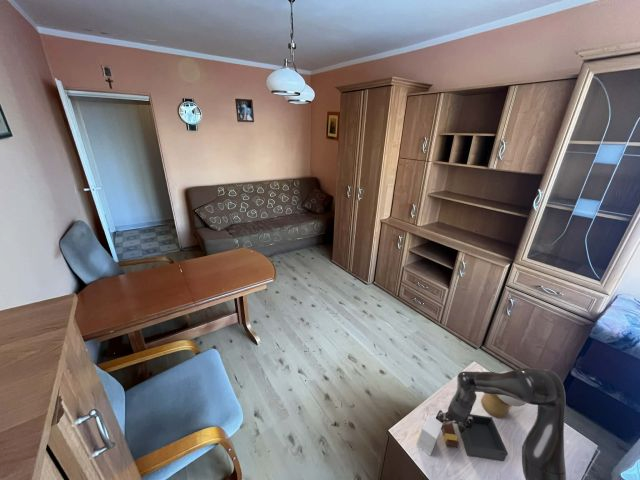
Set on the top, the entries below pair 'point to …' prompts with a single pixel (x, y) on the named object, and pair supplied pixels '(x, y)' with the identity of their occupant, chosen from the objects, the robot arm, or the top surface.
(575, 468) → the top surface
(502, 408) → the lamp
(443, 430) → the chocolate bar
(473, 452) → the dark gray rectangular tray
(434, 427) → the small box
